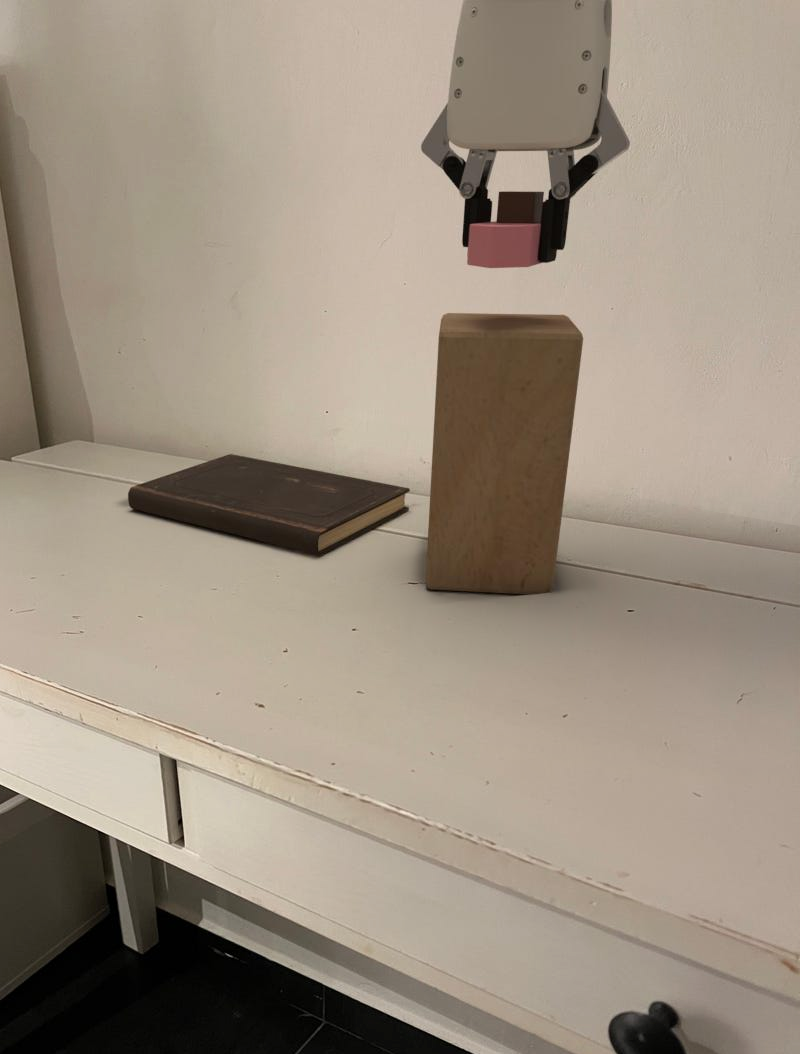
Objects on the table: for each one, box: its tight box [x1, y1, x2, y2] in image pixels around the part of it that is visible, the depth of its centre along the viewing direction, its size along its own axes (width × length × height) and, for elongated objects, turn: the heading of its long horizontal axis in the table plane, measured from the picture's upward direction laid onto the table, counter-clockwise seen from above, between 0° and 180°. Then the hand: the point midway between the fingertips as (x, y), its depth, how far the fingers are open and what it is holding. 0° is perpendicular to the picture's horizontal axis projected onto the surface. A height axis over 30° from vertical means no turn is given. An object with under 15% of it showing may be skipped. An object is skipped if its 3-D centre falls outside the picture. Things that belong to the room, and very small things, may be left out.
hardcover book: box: [127, 453, 411, 557], centre depth 91 cm, size 16×23×2 cm
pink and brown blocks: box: [466, 190, 545, 269], centre depth 64 cm, size 10×4×5 cm, turn 155°
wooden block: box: [424, 312, 584, 595], centre depth 72 cm, size 10×10×20 cm
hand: (511, 257), depth 66 cm, fingers closed on pink and brown blocks, 4 cm apart
